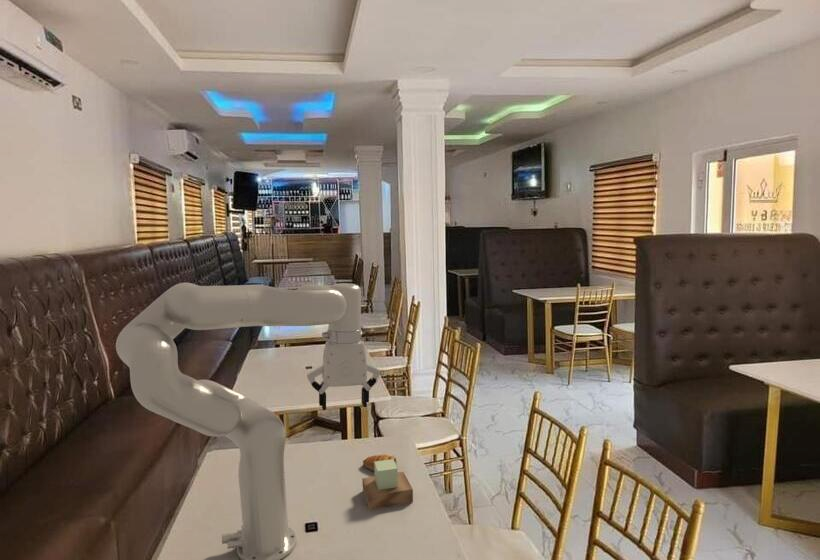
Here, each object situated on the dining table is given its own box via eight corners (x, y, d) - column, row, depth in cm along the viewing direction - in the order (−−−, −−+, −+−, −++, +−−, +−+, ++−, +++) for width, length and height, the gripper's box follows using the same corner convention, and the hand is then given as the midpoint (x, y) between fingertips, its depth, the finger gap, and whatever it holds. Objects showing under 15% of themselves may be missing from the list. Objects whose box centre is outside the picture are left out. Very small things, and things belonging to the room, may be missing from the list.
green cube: (378, 489, 134) (377, 471, 133) (375, 479, 139) (374, 461, 138) (397, 487, 135) (397, 468, 134) (394, 477, 140) (393, 459, 139)
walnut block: (369, 511, 132) (369, 496, 131) (362, 492, 140) (362, 478, 140) (413, 503, 135) (412, 489, 134) (403, 485, 143) (403, 471, 143)
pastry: (359, 471, 151) (359, 458, 150) (368, 460, 157) (368, 448, 157) (391, 475, 148) (390, 462, 147) (399, 464, 154) (398, 451, 154)
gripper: (308, 341, 121) (308, 415, 123) (384, 338, 125) (383, 409, 127) (305, 334, 128) (305, 404, 130) (377, 331, 132) (376, 399, 134)
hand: (344, 406), depth 128 cm, fingers open, 9 cm apart
